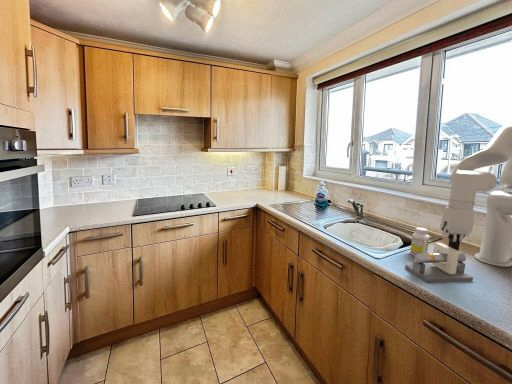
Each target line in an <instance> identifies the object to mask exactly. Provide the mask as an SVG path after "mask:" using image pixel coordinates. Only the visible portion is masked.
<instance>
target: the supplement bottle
mask: <svg viewBox="0 0 512 384" xmlns="http://www.w3.org/2000/svg"><path fill="white" fill-rule="evenodd" d="M411 237H412V238H411V244H410V255H412V256H413V257H414V256H415V254H424V253H428V249H429V241H430V236H429V235H428V228H426V227H421V226H420V227H415V232H414V233H412V236H411Z"/></svg>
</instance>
